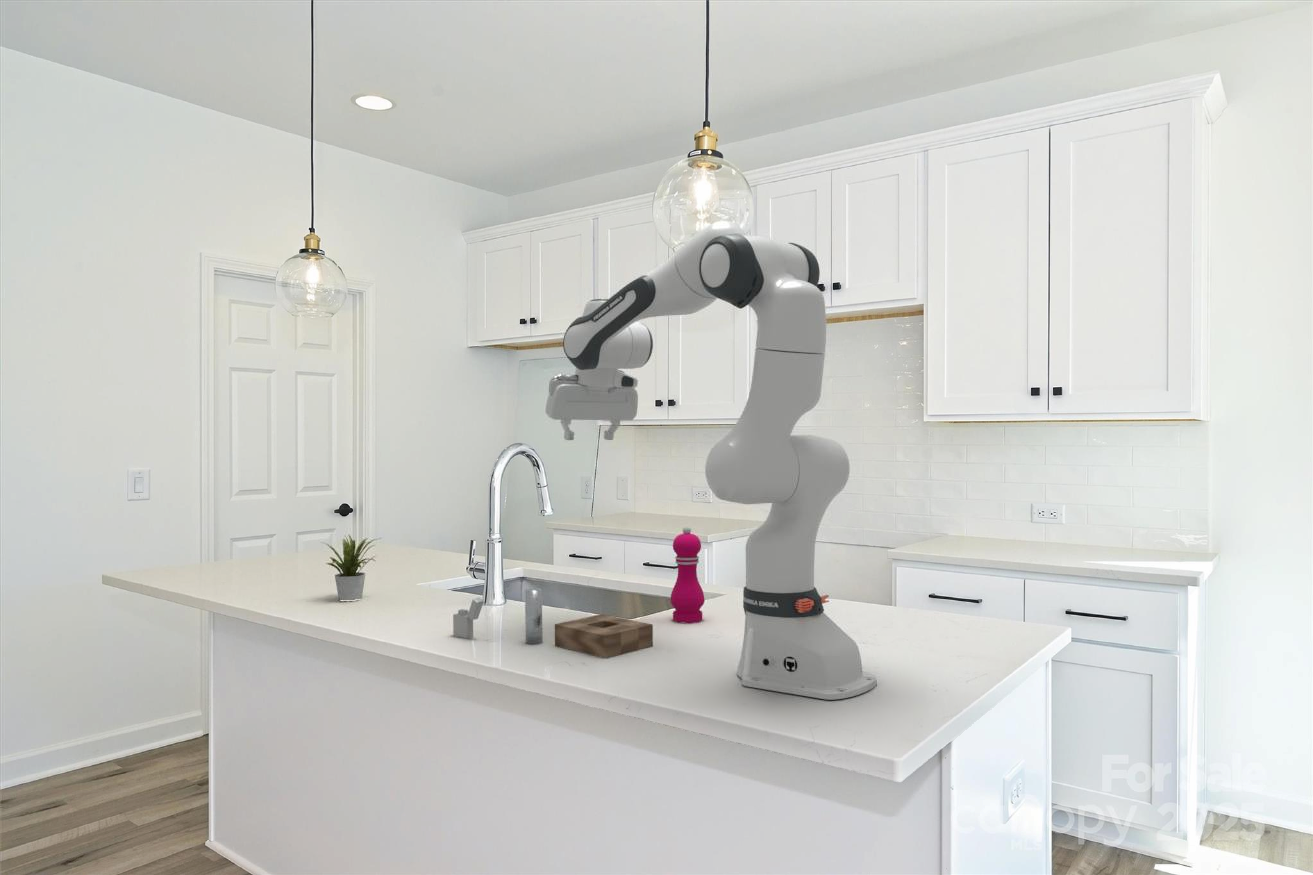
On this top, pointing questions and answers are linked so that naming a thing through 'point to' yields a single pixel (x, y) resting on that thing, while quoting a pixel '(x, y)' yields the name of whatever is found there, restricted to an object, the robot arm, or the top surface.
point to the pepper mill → (687, 579)
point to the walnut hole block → (603, 635)
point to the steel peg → (533, 616)
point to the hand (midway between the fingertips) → (588, 439)
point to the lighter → (466, 619)
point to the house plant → (350, 570)
